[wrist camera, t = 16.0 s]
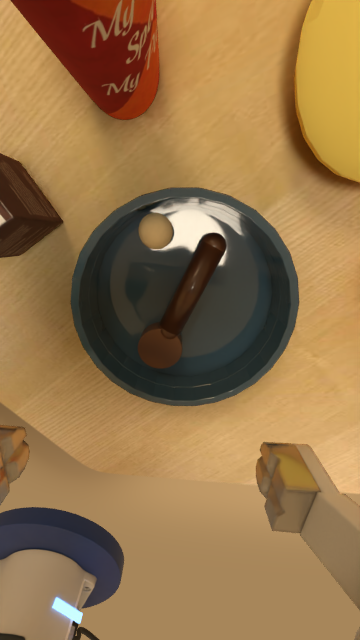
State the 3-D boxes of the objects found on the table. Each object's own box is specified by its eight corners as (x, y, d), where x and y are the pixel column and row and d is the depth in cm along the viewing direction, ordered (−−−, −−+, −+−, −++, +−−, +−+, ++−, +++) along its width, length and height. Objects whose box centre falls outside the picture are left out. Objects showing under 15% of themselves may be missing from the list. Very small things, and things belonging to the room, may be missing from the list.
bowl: (242, 391, 28) (253, 422, 24) (85, 359, 27) (64, 385, 22) (306, 226, 22) (340, 223, 17) (103, 174, 21) (79, 156, 16)
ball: (148, 229, 22) (147, 200, 20) (176, 240, 22) (179, 212, 19) (133, 249, 21) (130, 220, 18) (163, 260, 21) (164, 233, 18)
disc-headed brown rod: (196, 222, 21) (197, 220, 19) (238, 245, 22) (245, 246, 20) (134, 349, 26) (129, 359, 24) (171, 365, 27) (170, 377, 24)
